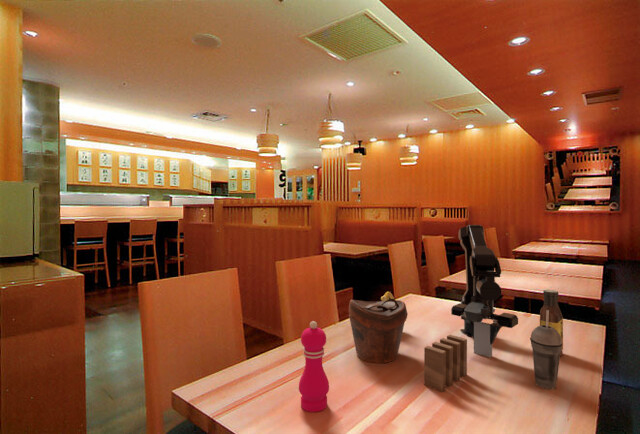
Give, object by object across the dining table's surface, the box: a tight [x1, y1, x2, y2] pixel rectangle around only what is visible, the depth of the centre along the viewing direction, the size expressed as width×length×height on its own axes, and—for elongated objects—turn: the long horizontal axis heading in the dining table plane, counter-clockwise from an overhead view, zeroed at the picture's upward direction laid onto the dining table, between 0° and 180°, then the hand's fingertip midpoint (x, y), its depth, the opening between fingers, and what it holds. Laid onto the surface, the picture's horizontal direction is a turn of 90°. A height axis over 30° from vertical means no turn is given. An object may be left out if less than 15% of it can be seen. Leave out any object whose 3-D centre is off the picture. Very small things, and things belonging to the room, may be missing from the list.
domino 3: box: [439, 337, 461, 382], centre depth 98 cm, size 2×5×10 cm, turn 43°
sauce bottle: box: [539, 289, 564, 357], centre depth 113 cm, size 7×6×20 cm
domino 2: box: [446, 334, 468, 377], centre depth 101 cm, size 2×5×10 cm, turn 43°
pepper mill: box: [298, 320, 330, 413], centre depth 85 cm, size 7×7×20 cm
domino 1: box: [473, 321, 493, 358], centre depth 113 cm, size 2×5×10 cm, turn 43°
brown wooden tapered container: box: [348, 298, 408, 364], centre depth 113 cm, size 18×20×18 cm
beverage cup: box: [529, 310, 564, 390], centre depth 93 cm, size 7×7×20 cm
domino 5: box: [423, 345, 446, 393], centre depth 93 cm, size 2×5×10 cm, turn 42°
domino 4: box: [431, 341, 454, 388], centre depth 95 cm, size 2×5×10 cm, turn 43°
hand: (482, 341), depth 113 cm, fingers closed on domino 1, 5 cm apart
